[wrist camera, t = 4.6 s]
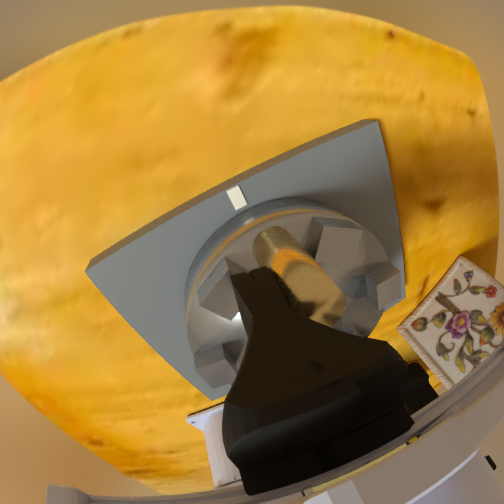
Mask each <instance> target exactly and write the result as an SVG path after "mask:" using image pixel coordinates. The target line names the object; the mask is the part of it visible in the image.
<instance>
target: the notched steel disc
mask: <svg viewBox="0 0 504 504" xmlns="http://www.w3.org/2000/svg"><path fill="white" fill-rule="evenodd" d="M263 266H266V267H267V268H268V269H269V270H270V271H271V272H272V274H273V276H274V278H275V280H276V282H277V284H278V286H279V288H280V290H281V292H282V294H283V296H284V298H285V300H286V302H287V304H288V306H289V307H290V308H291V309H293V310H295V311H296V312H298V313H300V314H302V315H304V316H306V317H308V318H310V319H312V320H314V321H316V322H318V323H321V324H323V325H326V326H328V327H331V328H334V329H336V330H339V331H343V332H346V333H350V334H353V335H357V336H361V337H366V338H367V337H368V336H369V335H370V334H371V332H372V331H373V329H374V328H375V326H376V325H377V323H378V321H379V319H380V317H381V316H382V313H383V311H384V309H385V307H387V306H388V305H390V304H392V303H393V302H395V301H396V300H398V299H400V298H401V271H400V270H398V269H397V268H396V267H395V266H394V265H392V264H391V263H390V262H389V260H388V257H387V254H386V252H385V250H384V248H383V246H382V245H381V243H380V242H379V241H378V239H377V238H376V237H375V236H374V235H373V234H372V233H371V232H370V231H369V230H367V229H366V228H364V227H363V226H362V225H360V224H359V223H357V222H356V221H354V220H353V219H351V218H350V217H348V216H347V215H345V214H344V213H342V212H341V211H339V210H338V209H336V208H334V207H332V206H331V205H328V204H325V203H323V202H320V201H316V200H311V199H303V198H288V199H278V200H274V201H269V202H265V203H262V204H259V205H257V206H254V207H251V208H249V209H247V210H245V211H243V212H241V213H239V214H237V215H236V216H234V217H233V218H231V219H230V220H229V221H227V222H226V223H224V224H223V225H222V226H221V227H220V228H219V229H217V230H216V231H215V232H214V233H213V234H212V235H211V236H210V237H209V238H208V240H207V241H206V242H205V243H204V244H203V246H202V247H201V249H200V250H199V252H198V253H197V255H196V256H195V258H194V260H193V262H192V265H191V267H190V269H189V272H188V275H187V279H186V283H185V291H184V301H185V315H186V326H187V336H188V341H189V345H190V349H191V351H192V353H193V357H194V364H195V371H196V372H197V373H198V374H199V375H200V376H201V377H202V378H203V379H204V380H205V381H206V383H207V384H208V385H209V386H210V387H211V388H212V389H215V388H218V387H220V386H223V385H226V384H229V385H232V384H233V382H234V380H235V378H236V375H237V373H238V370H239V367H240V365H241V362H242V359H243V356H244V353H245V349H246V345H247V341H248V337H247V334H246V331H245V328H244V325H243V322H242V319H241V316H240V313H239V309H238V305H237V302H236V298H235V294H234V290H233V286H232V283H231V279H230V276H231V275H235V274H239V273H242V272H246V273H249V272H250V270H253V269H256V268H260V267H263Z"/></svg>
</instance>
